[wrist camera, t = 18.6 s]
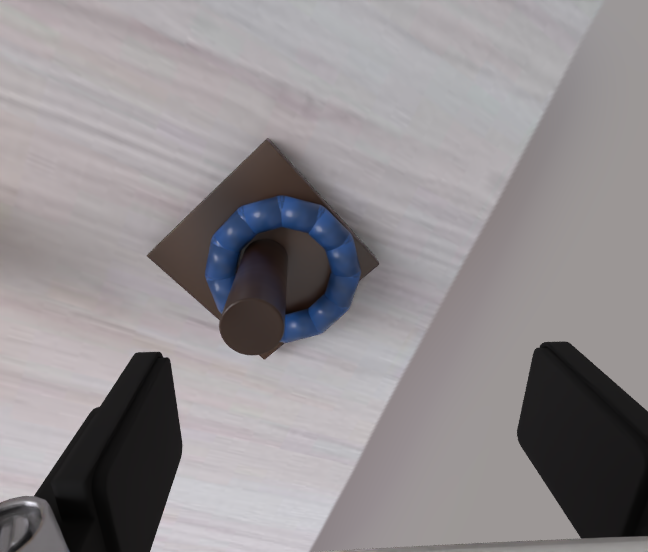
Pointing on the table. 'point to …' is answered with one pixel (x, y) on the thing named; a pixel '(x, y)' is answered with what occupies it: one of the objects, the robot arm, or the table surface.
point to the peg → (255, 255)
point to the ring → (298, 218)
